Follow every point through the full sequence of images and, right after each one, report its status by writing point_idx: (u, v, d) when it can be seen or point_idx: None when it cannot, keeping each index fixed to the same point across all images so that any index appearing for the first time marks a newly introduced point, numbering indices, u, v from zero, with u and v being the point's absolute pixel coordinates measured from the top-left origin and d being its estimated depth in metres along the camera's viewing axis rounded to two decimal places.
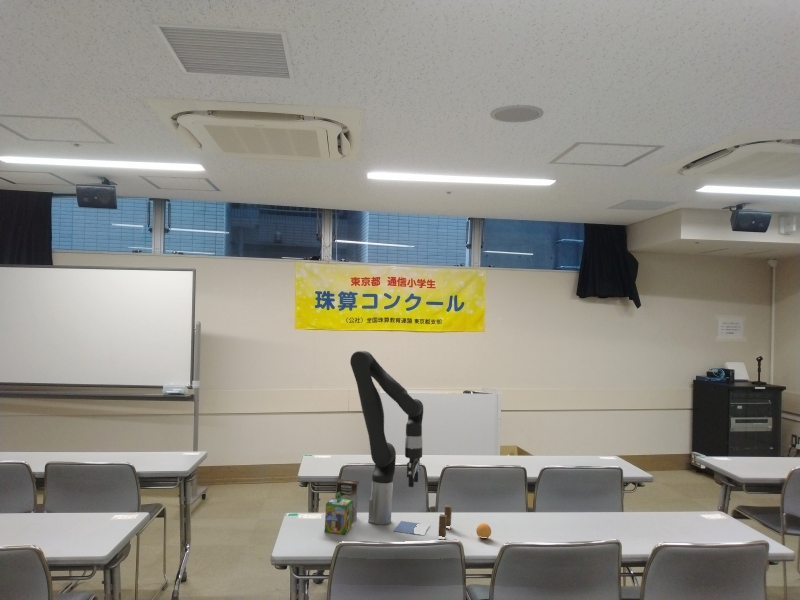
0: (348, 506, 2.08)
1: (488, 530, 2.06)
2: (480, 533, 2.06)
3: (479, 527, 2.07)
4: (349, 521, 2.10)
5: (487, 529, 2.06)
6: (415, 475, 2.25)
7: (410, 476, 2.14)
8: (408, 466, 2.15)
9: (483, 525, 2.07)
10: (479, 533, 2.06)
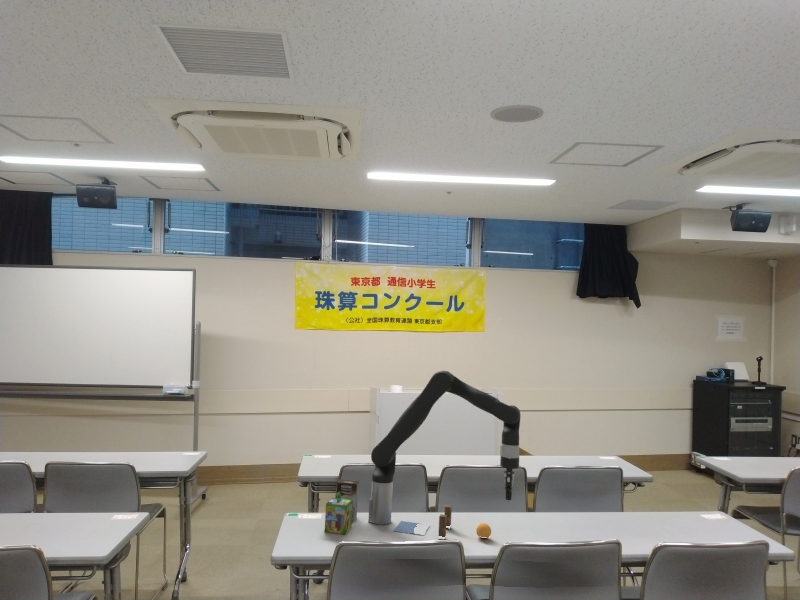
0: (348, 506, 2.08)
1: (488, 530, 2.06)
2: (480, 533, 2.06)
3: (479, 527, 2.07)
4: (349, 521, 2.10)
5: (487, 529, 2.06)
6: None
7: (509, 489, 2.03)
8: (506, 481, 2.02)
9: (483, 525, 2.07)
10: (479, 533, 2.06)
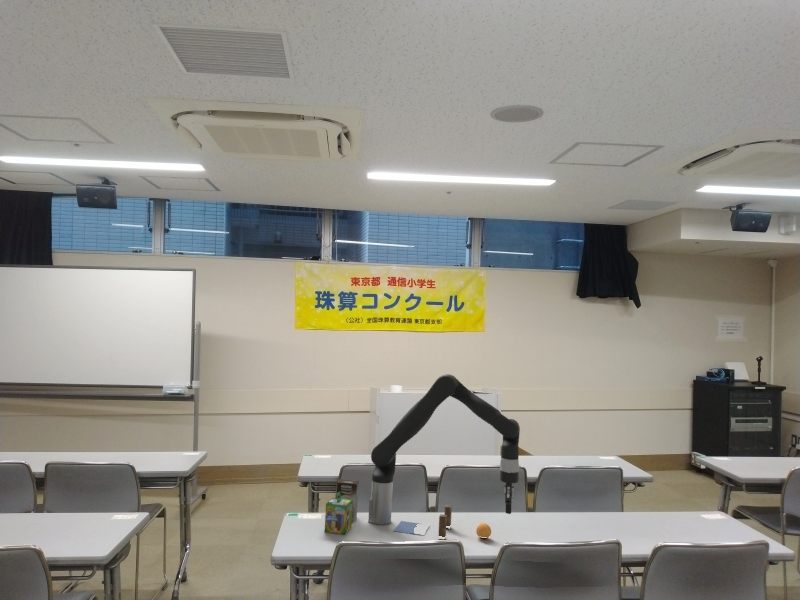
0: (348, 506, 2.08)
1: (488, 530, 2.06)
2: (480, 533, 2.06)
3: (479, 527, 2.07)
4: (349, 521, 2.10)
5: (487, 529, 2.06)
6: None
7: (509, 503, 2.04)
8: (506, 497, 2.02)
9: (483, 525, 2.07)
10: (479, 533, 2.06)
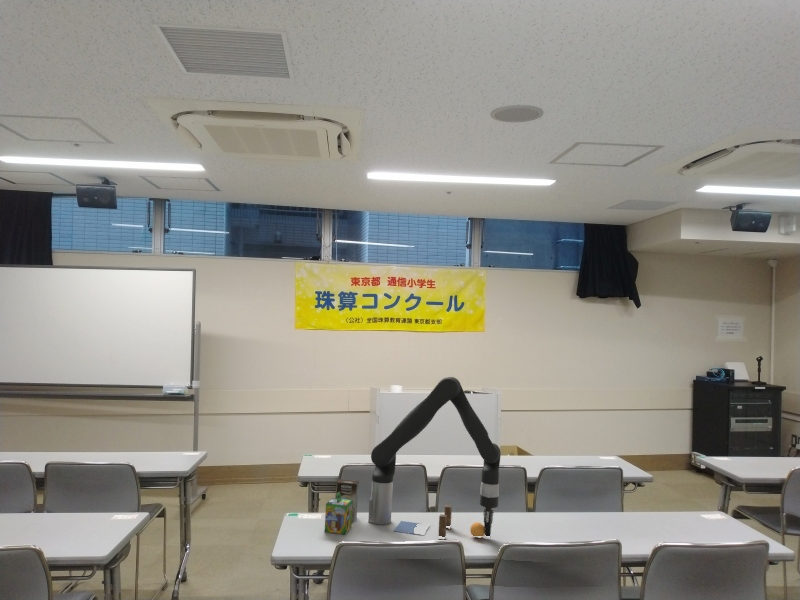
0: (348, 506, 2.08)
1: (479, 526, 2.07)
2: (475, 534, 2.06)
3: (471, 529, 2.08)
4: (349, 521, 2.10)
5: (478, 526, 2.07)
6: None
7: (488, 528, 2.05)
8: (485, 522, 2.04)
9: (473, 525, 2.08)
10: (474, 534, 2.07)
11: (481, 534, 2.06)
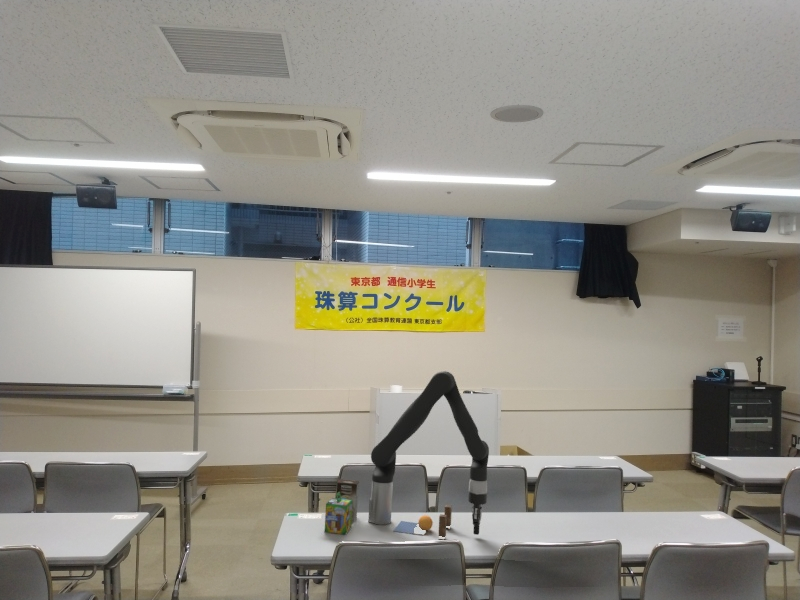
0: (348, 506, 2.08)
1: (422, 519, 2.13)
2: (424, 527, 2.12)
3: (420, 527, 2.13)
4: (349, 521, 2.10)
5: (421, 519, 2.13)
6: None
7: (476, 524, 2.07)
8: (473, 518, 2.05)
9: (418, 523, 2.14)
10: (424, 528, 2.12)
11: (428, 522, 2.12)
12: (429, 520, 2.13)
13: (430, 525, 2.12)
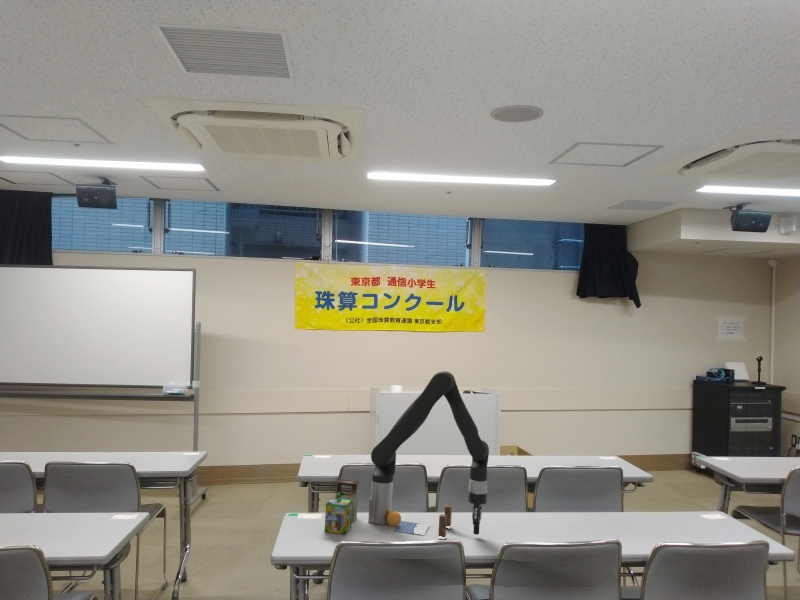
0: (348, 506, 2.08)
1: (397, 518, 2.16)
2: (390, 520, 2.16)
3: (390, 514, 2.17)
4: (349, 521, 2.10)
5: (397, 517, 2.16)
6: None
7: (476, 524, 2.07)
8: (473, 518, 2.05)
9: (394, 513, 2.17)
10: (389, 520, 2.16)
11: (394, 524, 2.15)
12: (396, 525, 2.16)
13: (391, 525, 2.16)
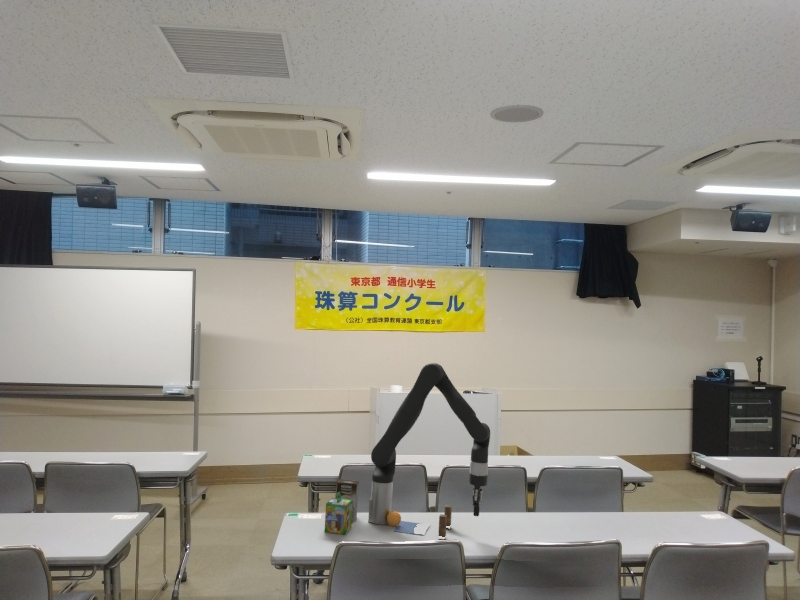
0: (348, 506, 2.08)
1: (397, 518, 2.16)
2: (390, 520, 2.16)
3: (390, 514, 2.17)
4: (349, 521, 2.10)
5: (397, 517, 2.16)
6: None
7: (476, 506, 2.07)
8: (474, 499, 2.05)
9: (394, 513, 2.17)
10: (389, 520, 2.16)
11: (394, 524, 2.15)
12: (396, 525, 2.16)
13: (391, 525, 2.16)
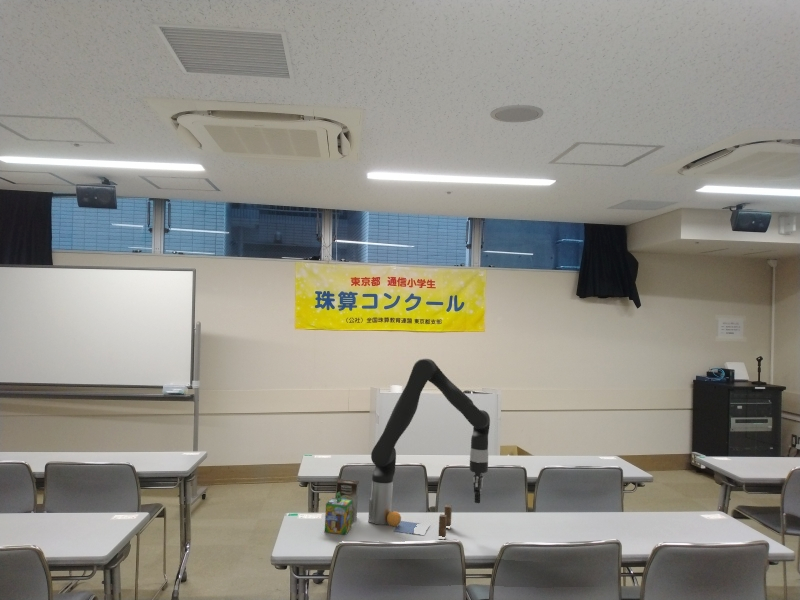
0: (348, 506, 2.08)
1: (397, 518, 2.16)
2: (390, 520, 2.16)
3: (390, 514, 2.17)
4: (349, 521, 2.10)
5: (397, 517, 2.16)
6: None
7: (477, 493, 2.08)
8: (475, 486, 2.06)
9: (394, 513, 2.17)
10: (389, 520, 2.16)
11: (394, 524, 2.15)
12: (396, 525, 2.16)
13: (391, 525, 2.16)
